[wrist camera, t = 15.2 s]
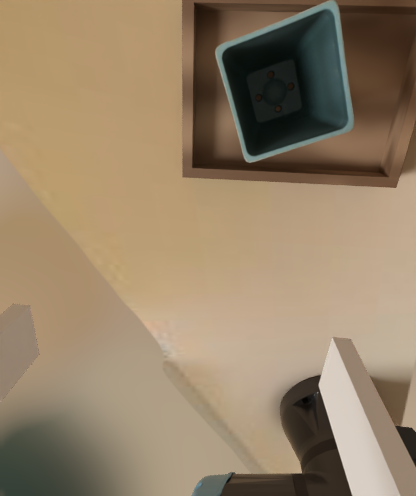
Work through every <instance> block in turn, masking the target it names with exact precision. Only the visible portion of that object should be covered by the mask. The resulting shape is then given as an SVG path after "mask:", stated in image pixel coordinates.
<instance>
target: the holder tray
mask: <svg viewBox="0 0 416 496" xmlns="http://www.w3.org/2000/svg"><path fill="white" fill-rule="evenodd" d="M326 1H329V0H182V80H183V177H189V178H209V179H229V180H249V181H270V182H290V183H310V184H331V185H351V186H371V187H391V188H396V187H397V184H398V180H399V177H400V173H401V170H402V166H403V163H404V160H405V156H406V153H407V149H408V146H409V142H410V139H411V135H412V132H413V128H414V125H415V121H416V0H335V1H336V2H337V3H338V6H339V10H340V18H341V27H342V34H343V42H344V51H345V60H346V67H347V74H348V82H349V88H350V95H351V101H352V108H353V114H354V128H353V129H352V130H351V131H350V132H347V133H345V134H341V135H338V136H335V137H331V138H328V139H325V140H322V141H318V142H315V143H312V144H309V145H306V146H302V147H299V148H296V149H293V150H290V151H287V152H283V153H280V154H277V155H274V156H271V157H268V158H265V159H262V160H259V161H256V162H251V163H249V162H247V161H246V160H245V159H244V156H243V152H242V149H241V144H240V140H239V137H238V133H237V129H236V125H235V122H234V118H233V115H232V111H231V108H230V104H229V100H228V97H227V93H226V90H225V86H224V83H223V80H222V76H221V73H220V69H219V66H218V63H217V60H216V55H215V51H216V48H217V47H218V46H219V45H221V44H223V43H225V42H227V41H230V40H233V39H236V38H238V37H241V36H244V35H246V34H249V33H251V32H254V31H256V30H259V29H261V28H264V27H266V26H269V25H271V24H274V23H276V22H279V21H281V20H284V19H286V18H289V17H291V16H294V15H295V14H298V13H300V12H303V11H305V10H308V9H310V8H312V7H315V6H317V5H319V4H321V3H324V2H326ZM268 77H269V78H272V77H273V72H269V73H268ZM288 88H289V89H292V88H293V84H292V83H290V84H289V85H288ZM256 99H257V100H260V99H261V96H260V95H257V96H256ZM280 109H281V107H280V106H277V107H276V111H280Z"/></svg>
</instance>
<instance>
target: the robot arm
mask: <svg viewBox="0 0 416 496" xmlns="http://www.w3.org/2000/svg"><path fill="white" fill-rule="evenodd" d="M38 355H39V350H38V344H37V339H36V334H35V329H34V324H33V319H32V313H31V308H30V305H20V304H12V305H11V306H10V307H9V308H8V309H7V310H6V311H4V312H3V313H2V314H1V315H0V403H1V401H2V400H3V399H4V398H5V396H6V395H7V394H8V393H9V391H10V390H11V389H12V388H13V386H14V385H15V384H16V383H17V381H18V380H19V379H20V378H21V376H22V375H23V374H24V373H25V371H26V370H27V369H28V368H29V366H30V365H31V364H32V363H33V361H34V360H35V359H36V358H37V356H38ZM280 415H281V422H282V426H283V429H284V432H285V434H286V436H287V438H288V440H289V442H290V444H291V446H292V448H293V450H294V451H295V453H296V455H297V457H298V459H299V461H300V464H301V469H302V473H301V474H235V472H230V473H229V474H225V475H210V476H206V477H204V478H203V479H201V480H200V481H199V483H198V484H197V486H196V487H195V489H194V492H193V494H192V496H416V432H415V431H414V430H413V429H412V428H409V427H400V426H395V425H394V423H393V421H392V419H391V417H390V415H389V413H388V411H387V409H386V408H385V406H384V404H383V402H382V400H381V398H380V396H379V394H378V392H377V390H376V388H375V386H374V384H373V382H372V380H371V378H370V376H369V374H368V372H367V370H366V368H365V366H364V364H363V362H362V360H361V358H360V356H359V354H358V352H357V350H356V348H355V346H354V344H353V342H352V341H351V339H346V338H336V337H332V340H331V343H330V347H329V350H328V354H327V357H326V361H325V364H324V368H323V371H322V375H321V376H318V377H313V378H310V379H307V380H305V381H302V382H300V383H298V384H297V385H295V386H294V387H292V388H291V389H290V390H289V391H288V392H287V393H286V395H285V396H284V398H283V399H282V402H281V405H280Z"/></svg>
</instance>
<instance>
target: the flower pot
mask: <svg viewBox="0 0 416 496" xmlns="http://www.w3.org/2000/svg"><path fill="white" fill-rule="evenodd" d="M215 55H216V60H217V63H218V66H219V69H220V73H221V76H222V80H223V83H224V86H225V90H226V93H227V97H228V100H229V104H230V108H231V111H232V115H233V118H234V122H235V125H236V129H237V133H238V137H239V140H240V144H241V149H242V152H243V156H244V159H245V160H246V161H247V162H249V163H251V162H256V161H259V160H262V159H265V158H268V157H271V156H274V155H277V154H280V153H283V152H287V151H290V150H293V149H296V148H299V147H302V146H306V145H309V144H312V143H315V142H318V141H322V140H325V139H328V138H331V137H335V136H338V135H341V134H345V133H347V132H350V131H351V130H352V129H353V128H354V114H353V108H352V101H351V95H350V88H349V82H348V74H347V67H346V60H345V51H344V42H343V34H342V27H341V18H340V10H339V6H338V3H337V2H336V1H335V0H329V1H326V2H324V3H321V4H319V5H317V6H315V7H312V8H310V9H308V10H305V11H303V12H300V13H298V14H295V15H294V16H291V17H289V18H286V19H284V20H281V21H279V22H276V23H274V24H271V25H269V26H266V27H264V28H261V29H259V30H256V31H254V32H251V33H249V34H246V35H244V36H241V37H238V38H236V39H233V40H230V41H227V42H225V43H223V44H221V45H219V46H218V47H217V48H216V51H215ZM269 72H273V77H272V78H269V77H268V73H269ZM290 83H292V84H293V88H292V89H289V88H288V85H289V84H290ZM257 95H260V96H261V99H260V100H257V99H256V96H257ZM277 106H280V107H281V109H280V111H276V107H277Z"/></svg>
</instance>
